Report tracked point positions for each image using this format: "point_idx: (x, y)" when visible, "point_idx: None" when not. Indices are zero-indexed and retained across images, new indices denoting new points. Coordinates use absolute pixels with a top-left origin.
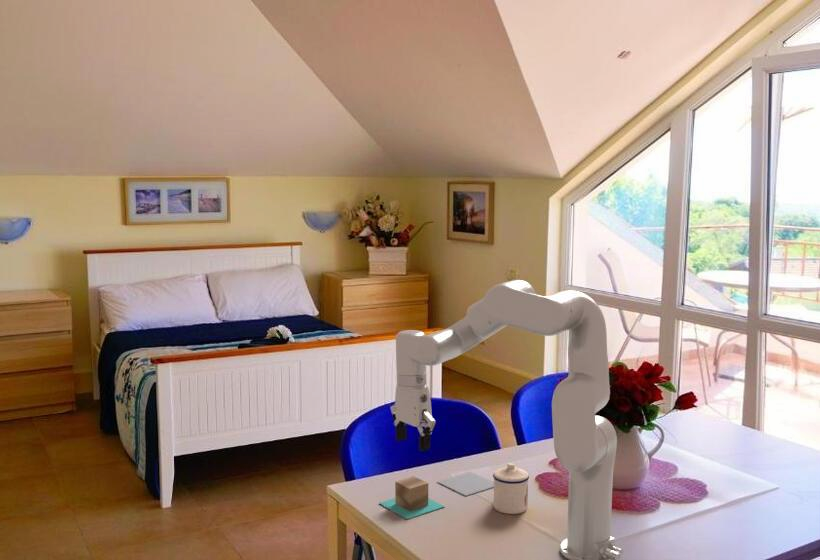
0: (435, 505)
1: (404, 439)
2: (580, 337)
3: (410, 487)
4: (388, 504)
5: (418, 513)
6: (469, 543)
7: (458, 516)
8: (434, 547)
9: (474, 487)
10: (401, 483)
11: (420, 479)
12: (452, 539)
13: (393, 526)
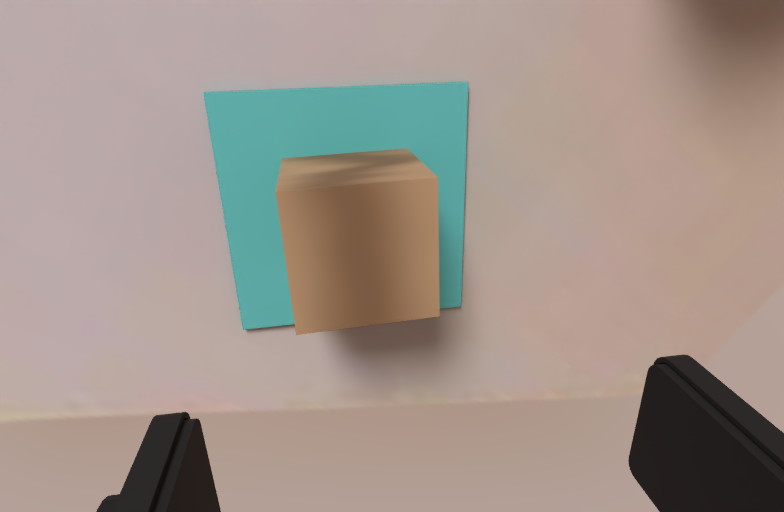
0: (430, 116)
1: (202, 450)
2: None
3: (425, 304)
4: (284, 303)
5: (452, 240)
6: (769, 215)
7: (585, 90)
8: (691, 332)
9: None
10: (342, 318)
11: (355, 185)
12: (702, 248)
13: (473, 371)
